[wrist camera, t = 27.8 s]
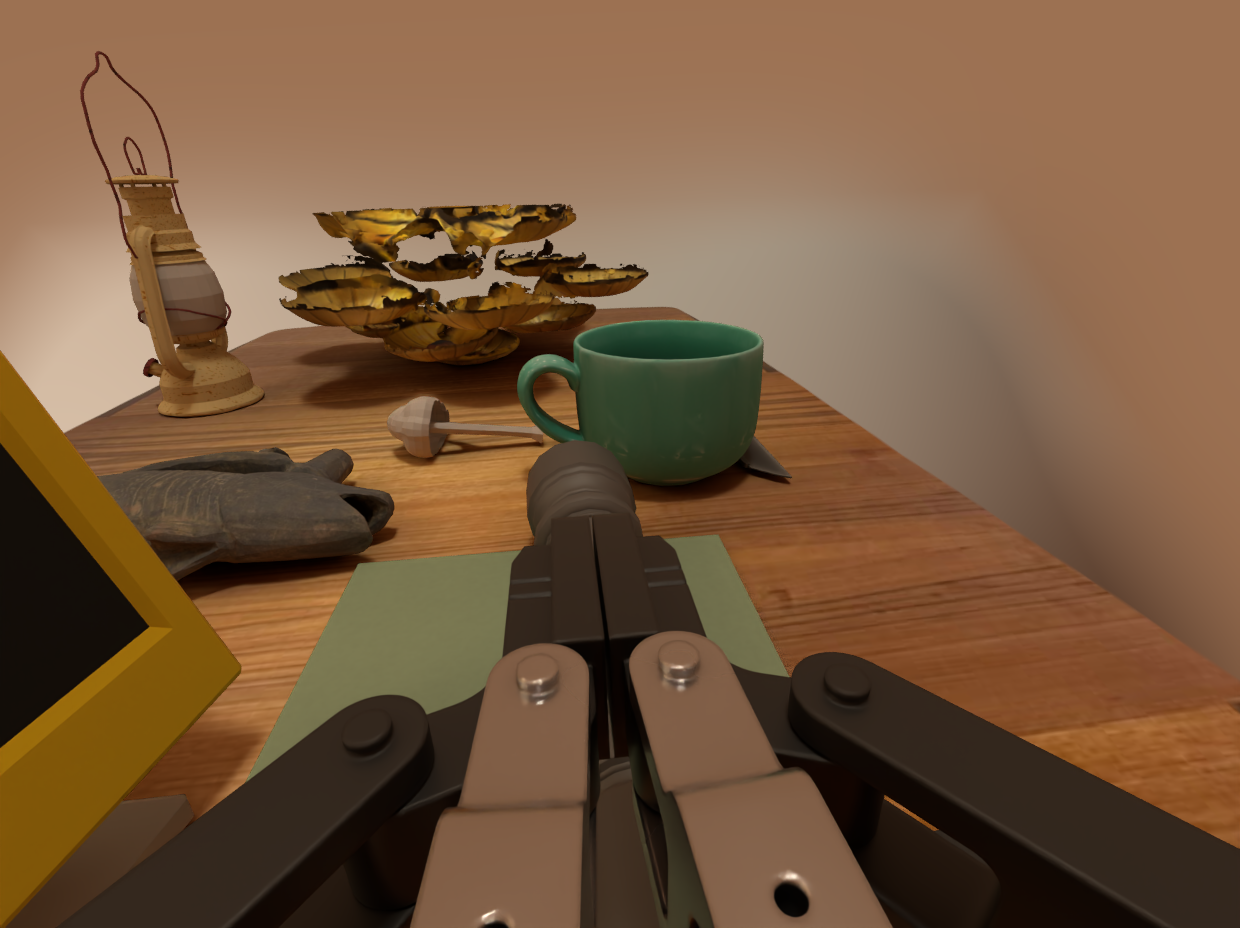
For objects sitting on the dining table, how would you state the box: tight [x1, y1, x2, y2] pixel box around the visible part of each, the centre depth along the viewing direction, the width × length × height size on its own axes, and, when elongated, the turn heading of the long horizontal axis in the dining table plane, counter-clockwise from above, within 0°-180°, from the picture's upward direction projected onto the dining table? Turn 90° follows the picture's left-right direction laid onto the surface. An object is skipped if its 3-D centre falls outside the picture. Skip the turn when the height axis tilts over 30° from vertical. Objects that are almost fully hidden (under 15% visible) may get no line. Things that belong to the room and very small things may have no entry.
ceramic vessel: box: [97, 447, 394, 581], centre depth 36 cm, size 5×25×15 cm
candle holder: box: [526, 440, 660, 928], centre depth 23 cm, size 6×6×25 cm
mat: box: [245, 535, 789, 783], centre depth 24 cm, size 20×22×1 cm
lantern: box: [80, 51, 264, 417], centre depth 55 cm, size 12×10×30 cm
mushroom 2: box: [387, 396, 543, 458], centre depth 48 cm, size 7×5×12 cm
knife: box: [738, 436, 792, 478], centre depth 47 cm, size 14×4×1 cm, turn 8°
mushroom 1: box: [279, 204, 648, 365], centre depth 72 cm, size 41×45×17 cm
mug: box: [517, 320, 763, 486], centre depth 42 cm, size 17×13×10 cm
